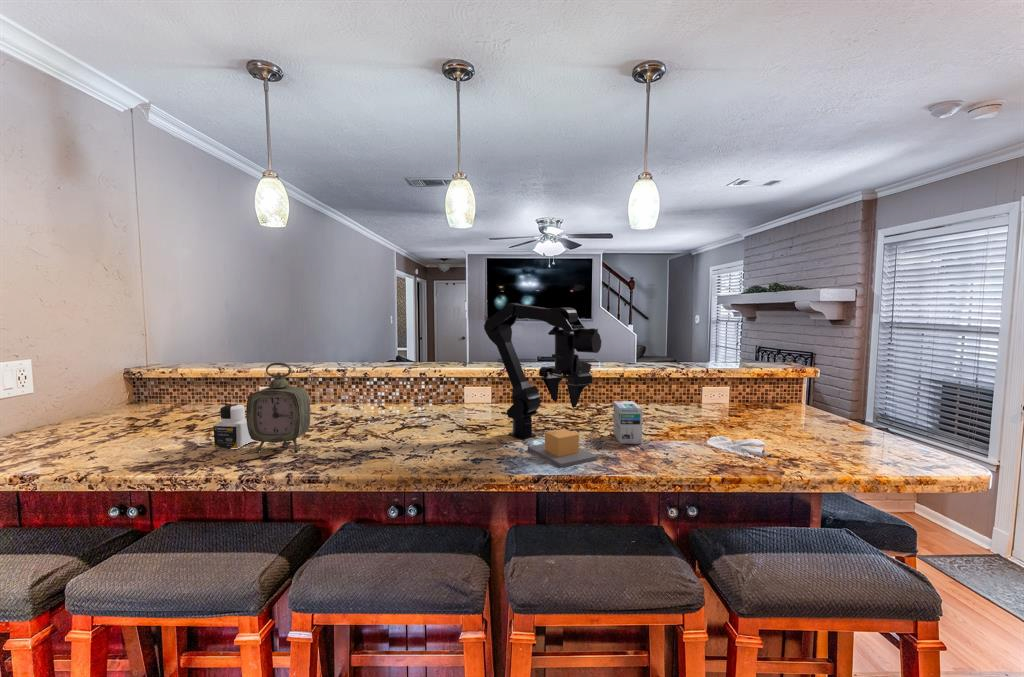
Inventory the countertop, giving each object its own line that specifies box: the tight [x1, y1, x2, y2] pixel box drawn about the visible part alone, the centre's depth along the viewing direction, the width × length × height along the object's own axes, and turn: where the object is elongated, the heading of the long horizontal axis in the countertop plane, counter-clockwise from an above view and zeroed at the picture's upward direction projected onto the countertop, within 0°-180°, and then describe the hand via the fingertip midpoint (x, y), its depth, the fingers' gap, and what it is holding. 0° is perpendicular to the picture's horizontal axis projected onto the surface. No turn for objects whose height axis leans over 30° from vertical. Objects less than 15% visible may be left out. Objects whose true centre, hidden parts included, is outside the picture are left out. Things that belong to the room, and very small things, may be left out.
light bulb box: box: [612, 400, 644, 445], centre depth 139 cm, size 11×7×11 cm, turn 179°
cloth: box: [706, 435, 773, 461], centre depth 130 cm, size 20×22×2 cm
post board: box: [527, 443, 599, 469], centre depth 124 cm, size 16×12×4 cm
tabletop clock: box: [245, 362, 312, 453], centre depth 129 cm, size 14×9×25 cm, turn 92°
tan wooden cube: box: [544, 428, 580, 457], centre depth 124 cm, size 7×7×5 cm
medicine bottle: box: [213, 403, 254, 449], centre depth 133 cm, size 7×7×12 cm
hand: (564, 404), depth 133 cm, fingers open, 9 cm apart
